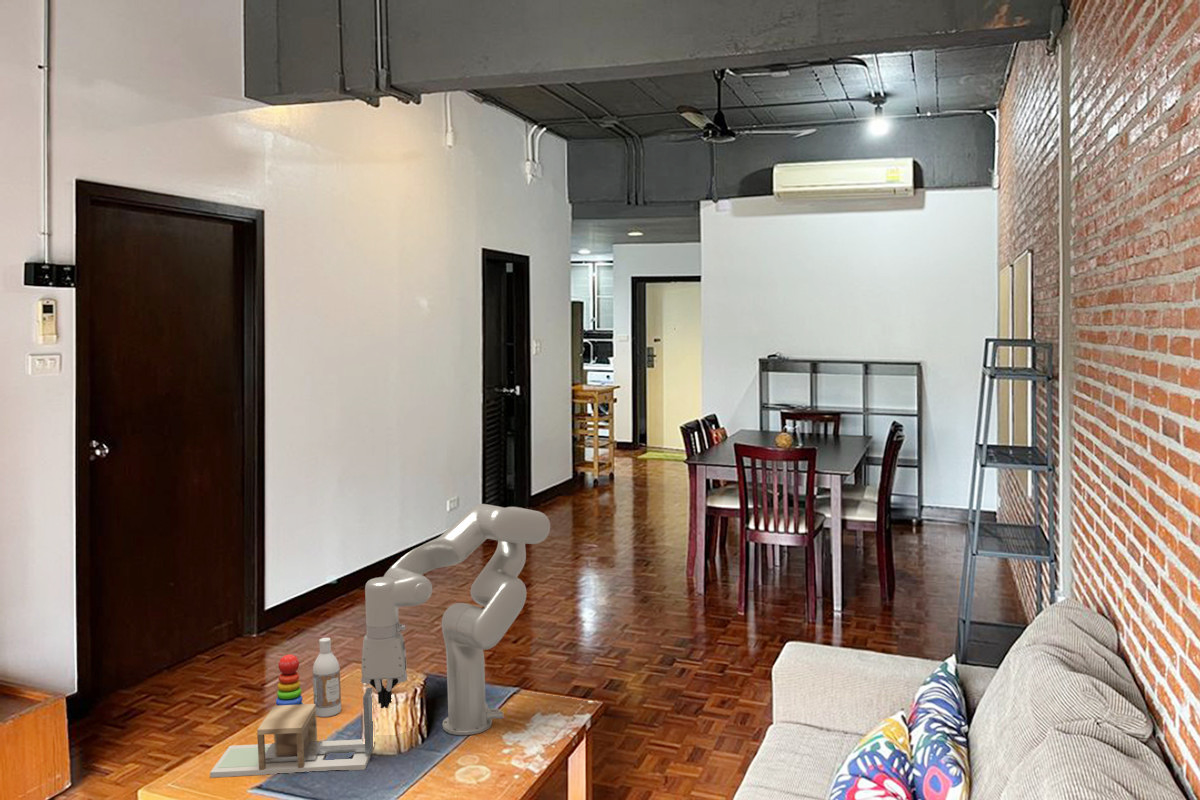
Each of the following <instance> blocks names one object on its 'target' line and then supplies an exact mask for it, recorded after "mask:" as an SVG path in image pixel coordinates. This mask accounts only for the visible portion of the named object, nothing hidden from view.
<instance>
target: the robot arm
mask: <svg viewBox="0 0 1200 800" xmlns="http://www.w3.org/2000/svg"><path fill="white" fill-rule="evenodd" d="M549 519H550V518H548V516H547V515H546V514H545V513H543V512H542V511H538V510H533V509H528V508H523V507H520V506H519V507H518V506H507V507H504V506H499V505H493V504H486V503H479V504H475V505H474V506H473V507H471V508H470V509H469V510H468V511H466V513H465V514H463V516H461V517H460V518H458V520H457V521H455V523H453V524H452V525H451V526H450V527H449V528H448V529H447V530H446V531H445V532H443V533H442V534H441V535H440V536H438V537H436V538H434V539H432V540H429V541H428V542H425V543H423V544H422V545H419V546H418V547H417V546H416V547H415V548H413V549H412V550H410V551H409V552H407V553H405V554H404V555H403V556H401V557H400V558H399V559H398V560H396V562H394V563H393V564H392V565H391V566H390V567H389V569H388V570H387V571H386V572H385V573H384V575H383V576H379V577H374V578H371V579H369V580H368V581H367V582H366V583H365V587H364V590H365V591H364V594H365V597H364V598H365V620H366V621H365V622H366V624H365V625H366V634H365V635H364V637H363V640H362V648H361V649H362V651H361V681H360V682H361V684H366V685H371V686H372V688H374V689H375V690H376V692H377V702H378V704H379V705H380V708H381V709H384V708H385V709H388V708H389V706H390V704H391V703H393V702H392V701H393V697H392V698H391V695H392V696H393V692H392V690H393V688H395V687H396V685H397V684H401V683H404V682H407V681H408V674H407V663H408V662H407V652H406V645H405V638H404V634H403V633H402V631H405V630H406V625H405V624H402V623H400V620H399V619H400V617H399V614H400V613H399V608H403V607H414V606H415V607H416V606H419V605H420V606H421V605H423V604H424V603H426V602H427V601H428V600H429V599H430V598H431V596H432V593H433V586H432V585H433V584H432V582H431V581H430V579H429V578H427V577H426V576H424V574H426V573H428V572H430V571H432V570H436V569H441V568H445V567H451V566H454V565H459V564H461V563H463V562H464V561H465V560H466V559H467V558H468V557H469V556H470V555H471V554H473V552H474V551H475V550H477V549H478V548H479V547H480V546H481V545H482V544H483V543H484V542H486V540H487V539H488V540H489V539H490V540H493V541H496V542H497V546H496V549H495V552H494V553H493V555H492V557H490V559H489V561H488V562H487V563H486V564H485V566H484V567H483V568H482V570H481V571H480V573H479V574H478V576H477V577H476V578H475V580H474V581H473V583H472V585H471V587H470V596H471V599H472V600H473V601H474V602H475V603H476V604H477V605H480V606H482V607H484V608H482V607H479V606H476V605H474V604H473V605H472V604H470V603H465V602H457V603H454V604H452V605H450V606H449V607H448V608H447V609H446V610H445V611H444V613H443V615H442V618H441V631H442V636H443V640H444V646H445V653H446V680H447V682H446V683H447V708H448V709H447V711H448V716H446V718H445V719H443V721H442V729H443V731H445V732H446V733H448V734H451V735H455V736H470V735H472V736H473V735H477V734H480V733H483V732H485V731H487V730H488V729H490V728H491V727H492V725H493V720H503V719H504V711H503V710H500V708H490V707H488V702H486V682H485V681H486V679H485V678H486V676H485V675H486V674H485V656H484V655H485V654H484V651H486V650H490V649H492V648H494V647H495V646H496V645H498V643H499V642H500V641H501V640H502V639H503V637H504V636H505V634H506V633H507V632H508V630H509V629H510V627H511V626H512V624H513V623H514V622H515V620H516V619H517V617H518V616H519V614H520V613H521V611H522V610H523V608H524V606H525V604H526V601H527V587H526V585H525V583H524V582H523V580H522V579H520V578H519V577H518V576H519V575H520V573H521V572H522V570H523V569H524V567H525V564H526V559H527V551H526V544H527V545H528V544H529V545H530V544H531V545H536V544H540V543H542V542H544V541H545V540H546V539H547V538H548V536H549V534H550V531H551V521H550V520H549ZM383 680H386V681H387V682H386V686H384V683H383ZM391 699H392V701H391Z"/></svg>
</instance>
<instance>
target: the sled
mask: <svg viewBox="0 0 1200 800" xmlns="http://www.w3.org/2000/svg"><path fill="white" fill-rule="evenodd" d="M373 688H374V687H367V688H366V690H365V692H364V695H363V697H362V705H363V731H364V732H363V733H364V739H365V744H356V745H335V746H322V745H323V741H324V740H317V741H309V744H308V746H307V748H306V750H305V751H304V760H315V759H316V757H317V755H318V754H329V753H349V752H365V755H371V756H372V753H373V751H372V750H374V748H373V721H372V697H371V694H372V689H373ZM270 744H271V746H270V747H269V749H268V750H267V752H266V754H265V760H266V762H280V761H298V756H297V755H279V756H277V749H276V743H273V742H272V743H270ZM371 752H372V753H371Z"/></svg>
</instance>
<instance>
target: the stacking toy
mask: <svg viewBox="0 0 1200 800" xmlns="http://www.w3.org/2000/svg"><path fill="white" fill-rule="evenodd" d="M299 667H300V660H299V659H298V657H297V656H295V654H285V655H283V656H282V657H281V658H280V659H279V661H278V669H279V671H280V673H281V674H279V676H278V681H279V682H278V684H277V689H278V690H277V692H276V694H277V695H276V696H277V698H276V700H275V703H276V704H275V706H279V705H301V704H304V703H303V696H302V688H301V687H300V686H301V681H299V679H300V674H299V672H297V671H298V669H299Z"/></svg>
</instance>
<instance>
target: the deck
mask: <svg viewBox="0 0 1200 800" xmlns="http://www.w3.org/2000/svg"><path fill="white" fill-rule="evenodd" d="M362 739H363V738H361V739H359V738H358V739H341V740H322V741H323V745H322V746H335V745H356V744H363V741H362ZM271 744H272V743H265V754H266V752H267V750H268V749H269V747H270V746H271ZM326 756H327V754H318V755H317V757H316V759H315V760H304V763H305V766H304V767H303V768H298V761H280V762H266V768H265V769H264V770H259V759H258V743H256V744H237V745H235V744H234V745H229V746H228V748H227V749H225V751H224V753H223V754H222V756H221V757H220V758H219V759H218V761H217V762H216V764H215V765H214V766H213V767H212V769H211V770H210V772H209V777H210V778H227V777H247V776H267V774H270V775H278V774H277V773H289V772H290V773H289V774H292V773H291V772H305V771H307V772H309V771H327V770H349V771H365V770H366V769H367V765H368V763H369V761H370V758H371V756H370V755H365V752H355V754H354V756H353V755H352V756H351V757H349V759H334V760H325V758H326ZM350 758H352V759H350ZM309 773H310V772H309Z"/></svg>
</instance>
